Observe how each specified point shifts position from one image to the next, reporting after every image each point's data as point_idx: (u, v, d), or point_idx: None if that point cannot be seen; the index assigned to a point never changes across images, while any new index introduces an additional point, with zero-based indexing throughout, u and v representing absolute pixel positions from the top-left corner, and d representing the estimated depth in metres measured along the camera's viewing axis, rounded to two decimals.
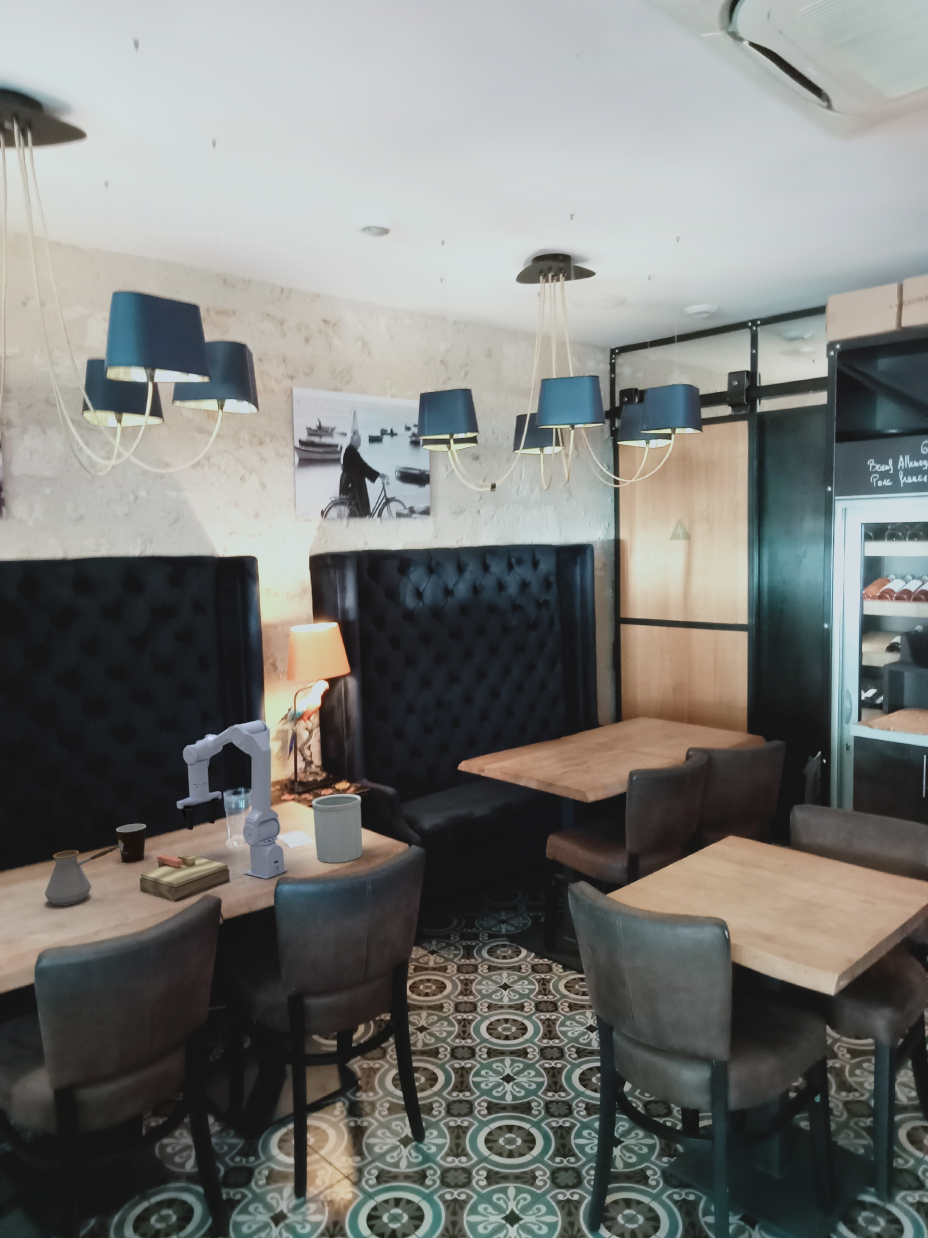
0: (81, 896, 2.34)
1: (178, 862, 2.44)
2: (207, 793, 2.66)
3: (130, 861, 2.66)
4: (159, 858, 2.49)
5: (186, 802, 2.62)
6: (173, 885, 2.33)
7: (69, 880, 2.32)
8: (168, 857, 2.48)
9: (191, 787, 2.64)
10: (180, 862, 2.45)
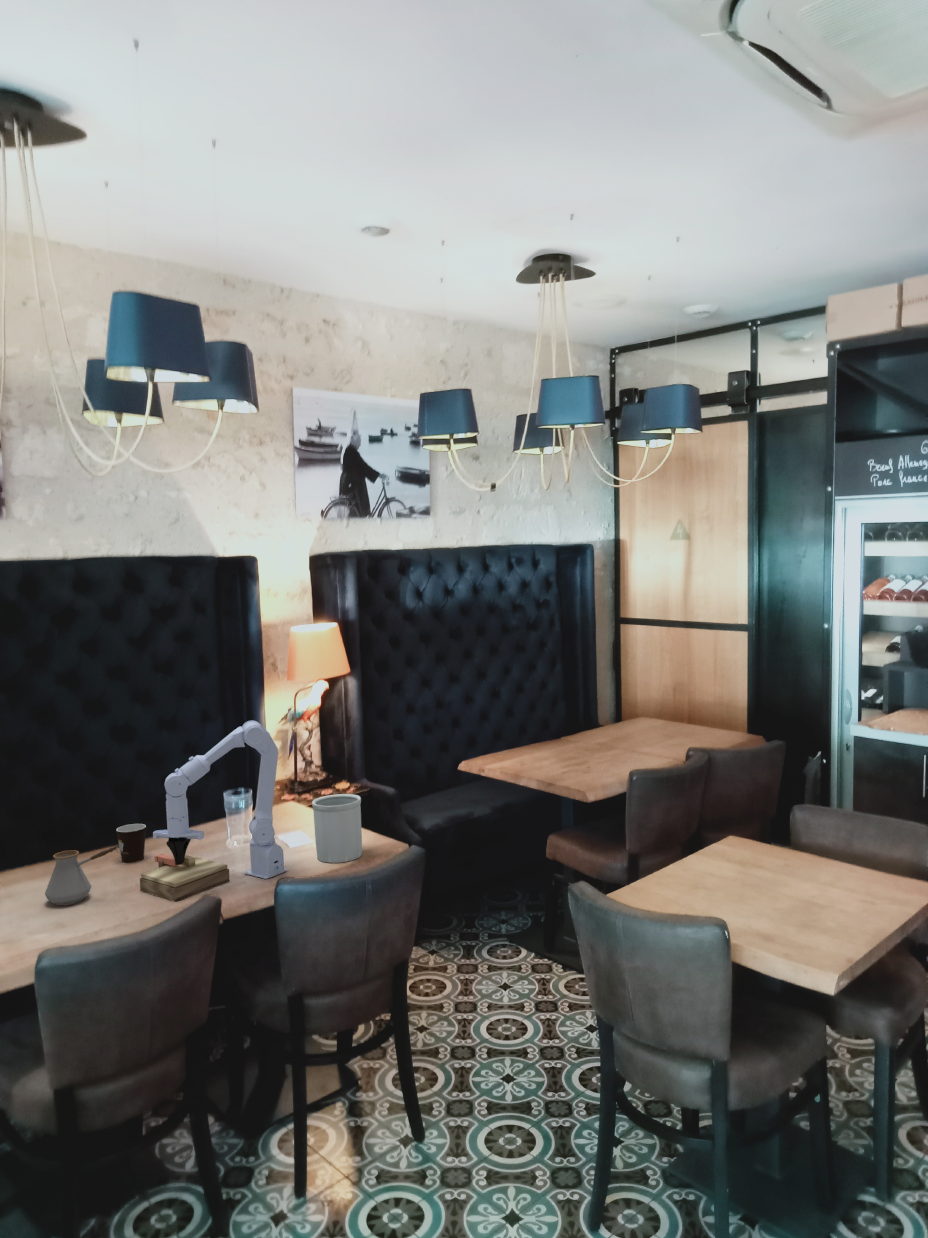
0: (81, 896, 2.34)
1: None
2: (177, 830, 2.42)
3: (130, 861, 2.66)
4: (157, 857, 2.49)
5: (158, 833, 2.44)
6: (173, 885, 2.33)
7: (69, 880, 2.32)
8: (165, 856, 2.49)
9: None
10: None
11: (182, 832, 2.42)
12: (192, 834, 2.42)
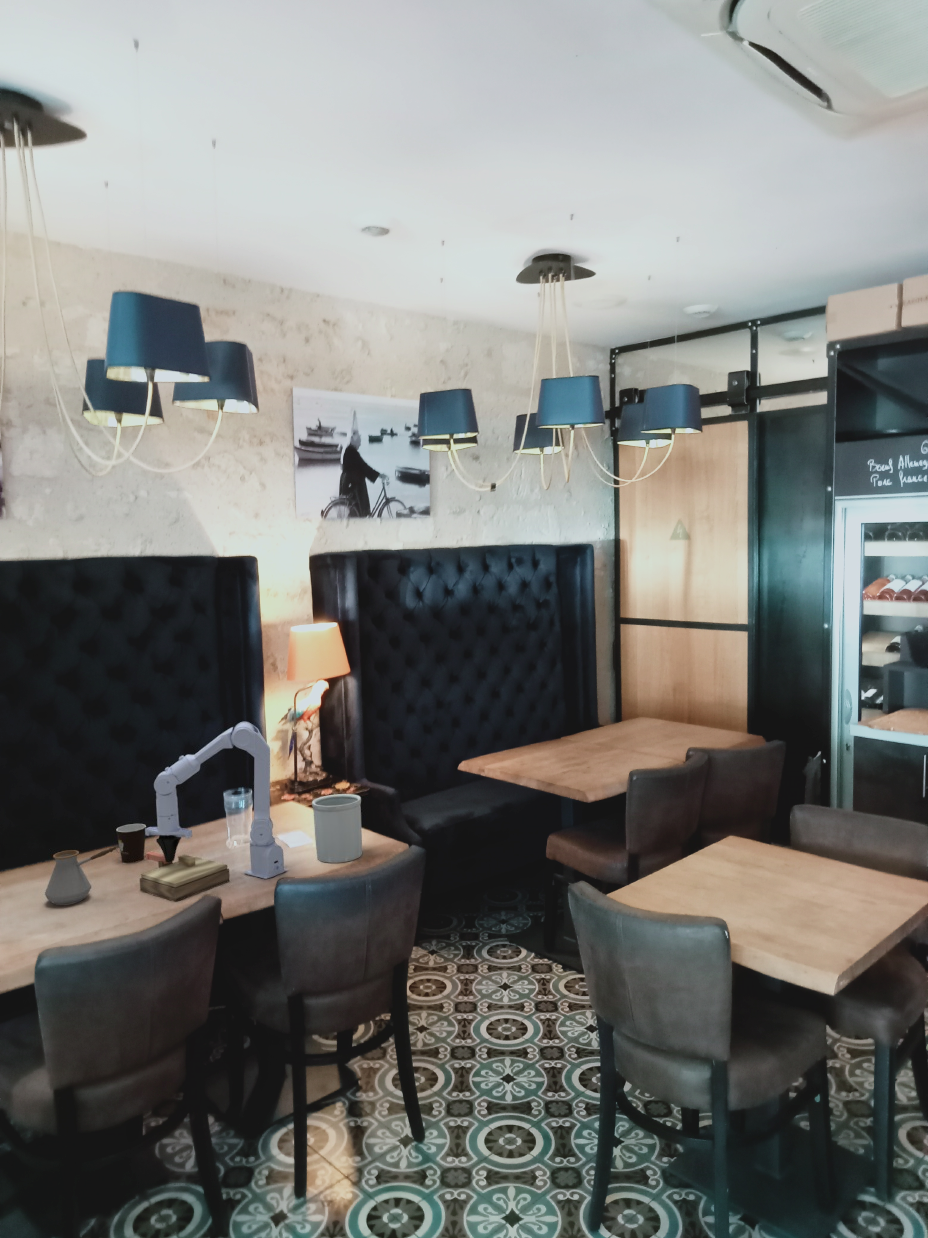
0: (81, 896, 2.34)
1: None
2: (166, 828, 2.44)
3: (130, 861, 2.66)
4: (147, 855, 2.52)
5: (149, 830, 2.47)
6: (173, 885, 2.33)
7: (69, 880, 2.32)
8: (156, 854, 2.51)
9: None
10: None
11: (171, 830, 2.45)
12: (180, 832, 2.44)
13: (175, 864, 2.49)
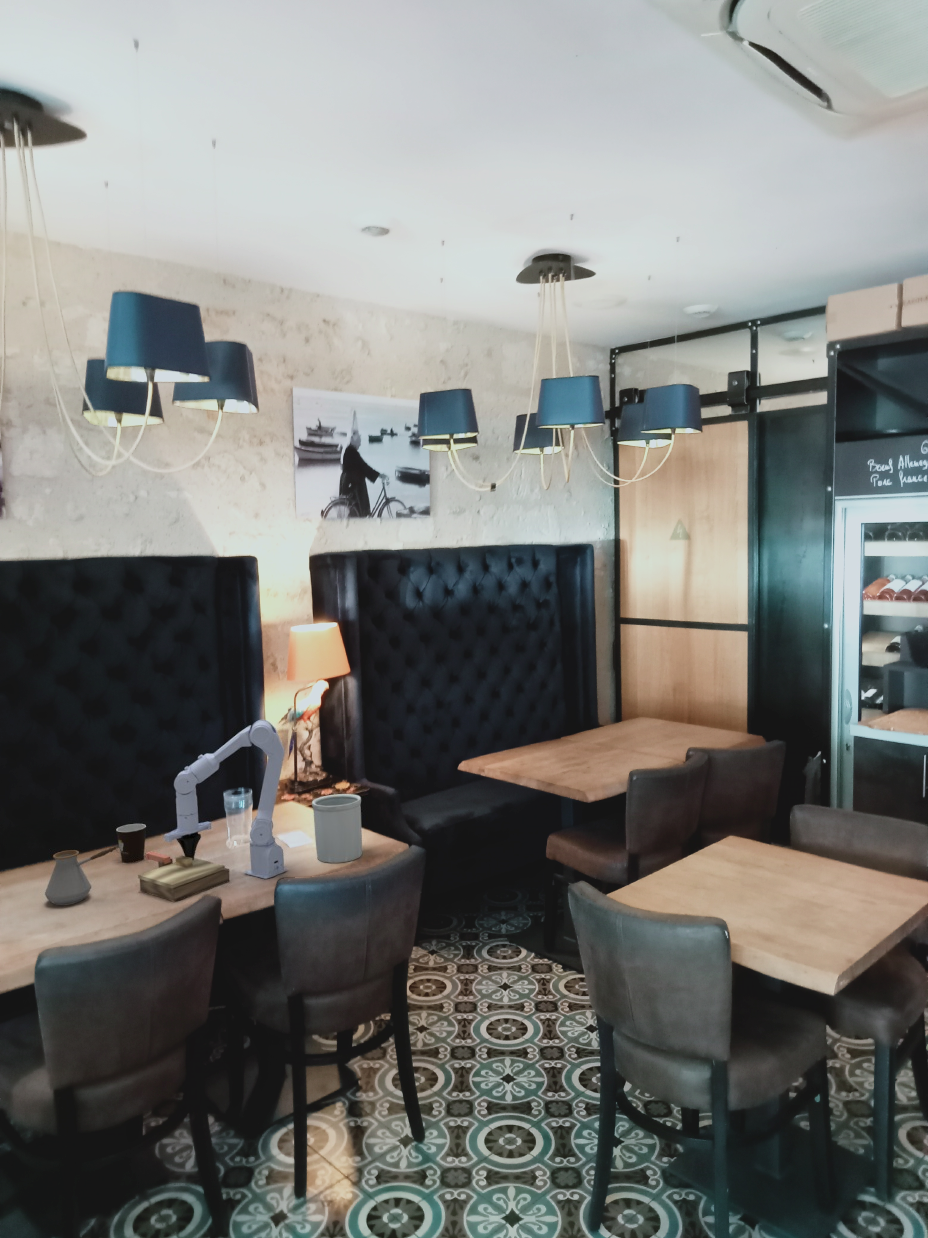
0: (81, 896, 2.34)
1: (166, 859, 2.48)
2: (197, 824, 2.48)
3: (130, 861, 2.66)
4: (147, 855, 2.52)
5: (174, 835, 2.43)
6: (170, 886, 2.32)
7: (69, 880, 2.32)
8: (156, 854, 2.51)
9: (179, 818, 2.46)
10: (168, 859, 2.48)
11: (198, 826, 2.49)
12: (205, 825, 2.51)
13: (172, 865, 2.48)
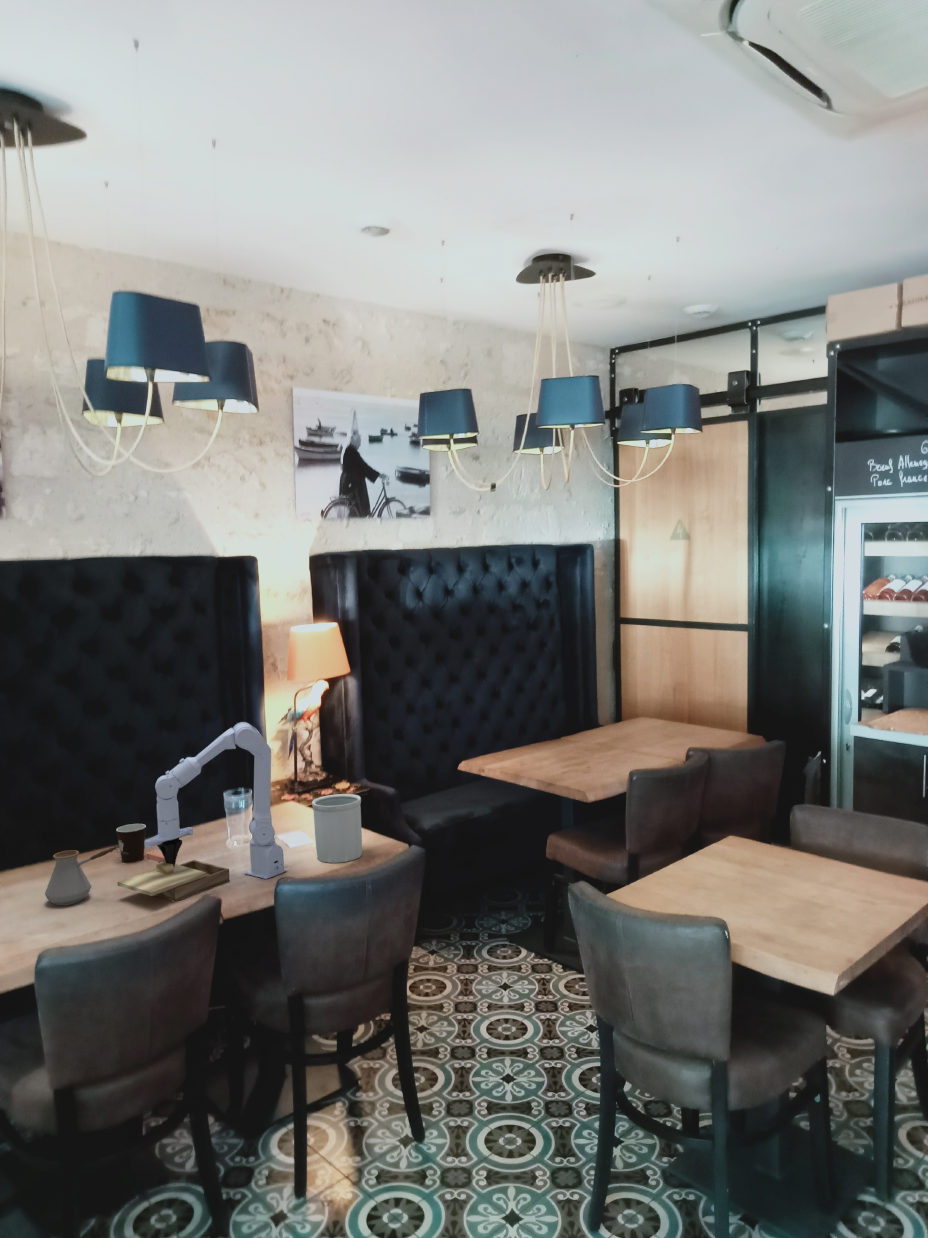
0: (81, 896, 2.34)
1: None
2: (178, 830, 2.43)
3: (130, 861, 2.66)
4: (147, 855, 2.52)
5: (155, 841, 2.38)
6: (149, 894, 2.27)
7: (69, 880, 2.32)
8: (156, 854, 2.51)
9: (160, 824, 2.40)
10: None
11: (179, 831, 2.44)
12: (187, 831, 2.46)
13: (153, 871, 2.43)
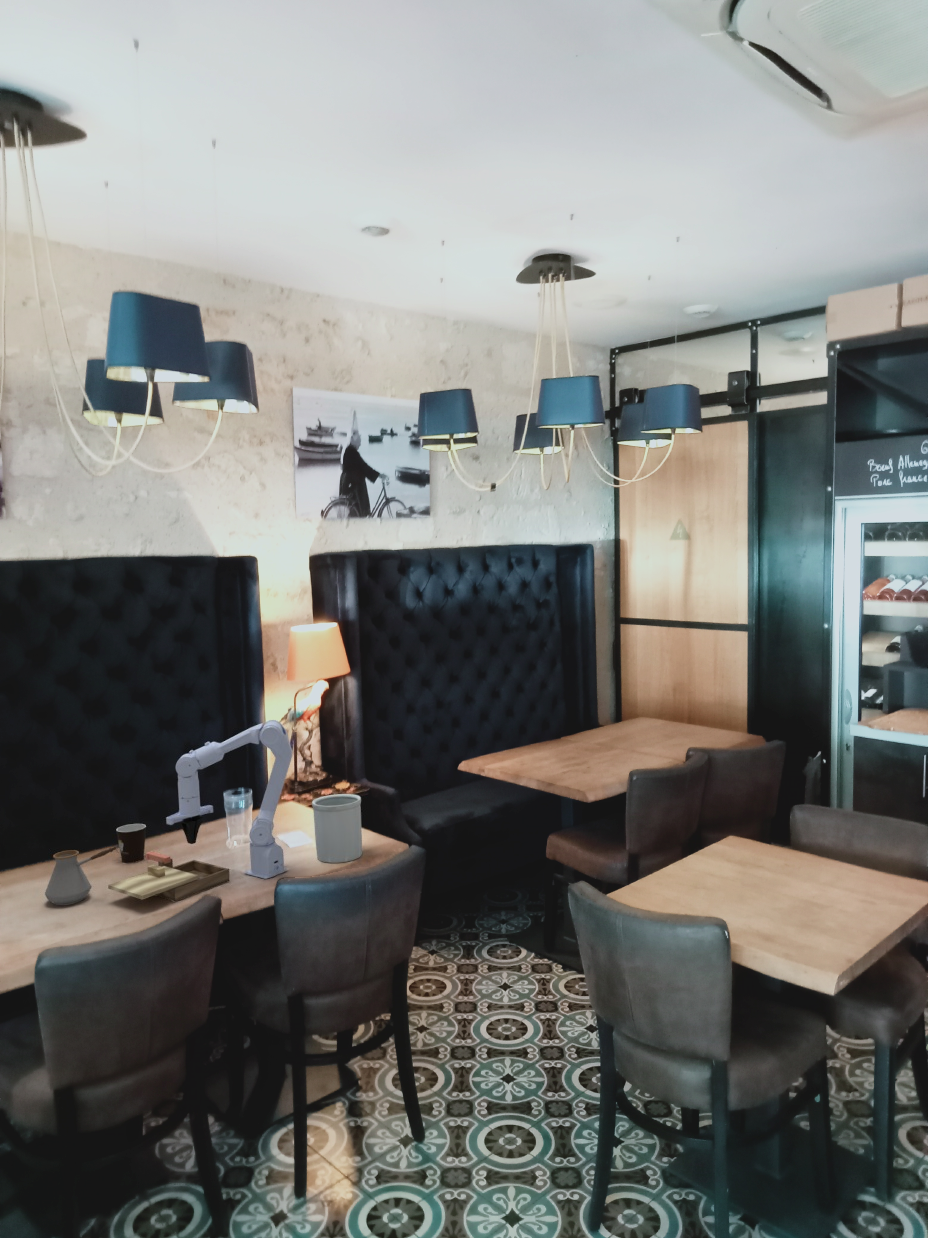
0: (81, 896, 2.34)
1: (166, 859, 2.48)
2: (198, 807, 2.48)
3: (130, 861, 2.66)
4: (147, 855, 2.52)
5: (176, 817, 2.44)
6: (140, 897, 2.25)
7: (69, 880, 2.32)
8: (156, 854, 2.51)
9: (181, 801, 2.46)
10: (168, 859, 2.48)
11: (200, 809, 2.49)
12: (207, 808, 2.52)
13: (144, 874, 2.40)
